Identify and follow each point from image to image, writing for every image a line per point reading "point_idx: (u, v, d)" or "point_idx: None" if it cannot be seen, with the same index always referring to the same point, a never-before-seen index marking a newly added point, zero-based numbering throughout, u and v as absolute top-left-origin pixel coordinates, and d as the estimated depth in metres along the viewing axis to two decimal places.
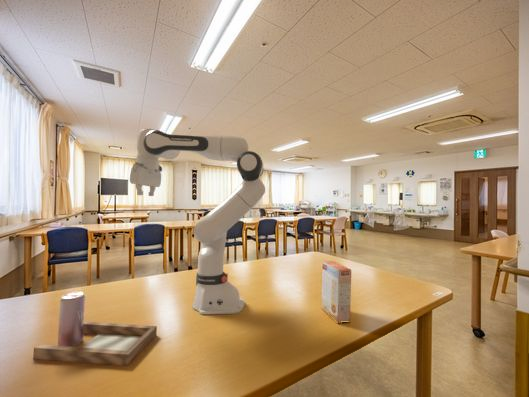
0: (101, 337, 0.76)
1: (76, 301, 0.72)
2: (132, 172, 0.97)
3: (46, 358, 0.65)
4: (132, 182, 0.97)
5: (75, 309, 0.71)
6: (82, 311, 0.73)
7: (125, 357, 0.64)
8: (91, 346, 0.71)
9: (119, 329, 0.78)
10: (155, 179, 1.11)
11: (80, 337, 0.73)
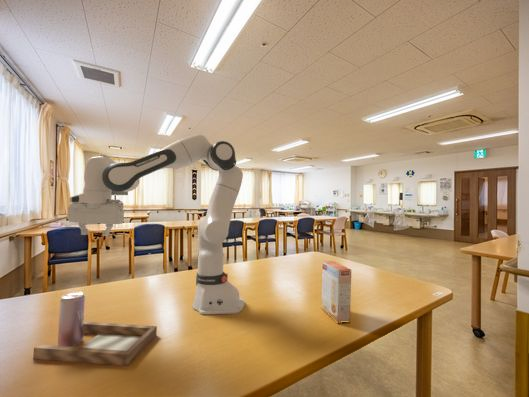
0: (101, 337, 0.76)
1: (76, 301, 0.72)
2: (119, 212, 0.88)
3: (46, 358, 0.65)
4: (119, 223, 0.88)
5: (75, 309, 0.71)
6: (82, 311, 0.73)
7: (125, 357, 0.64)
8: (91, 346, 0.71)
9: (119, 329, 0.78)
10: None
11: (80, 337, 0.73)
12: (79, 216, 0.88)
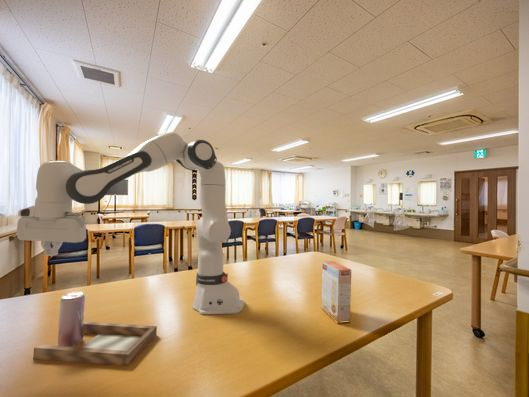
0: (101, 337, 0.76)
1: (76, 301, 0.72)
2: (79, 227, 0.73)
3: (46, 358, 0.65)
4: (79, 240, 0.73)
5: (75, 309, 0.71)
6: (82, 311, 0.73)
7: (125, 357, 0.64)
8: (91, 346, 0.71)
9: (119, 329, 0.78)
10: None
11: (80, 337, 0.73)
12: (30, 232, 0.73)
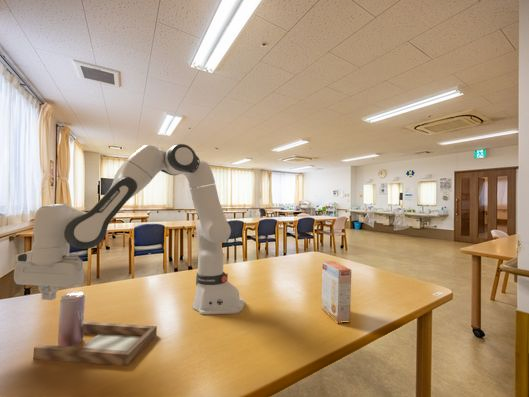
0: (101, 337, 0.76)
1: (76, 301, 0.72)
2: (77, 271, 0.73)
3: (46, 358, 0.65)
4: (77, 285, 0.73)
5: (75, 309, 0.71)
6: (82, 311, 0.73)
7: (125, 357, 0.64)
8: (91, 346, 0.71)
9: (119, 329, 0.78)
10: None
11: (80, 337, 0.73)
12: (28, 277, 0.72)
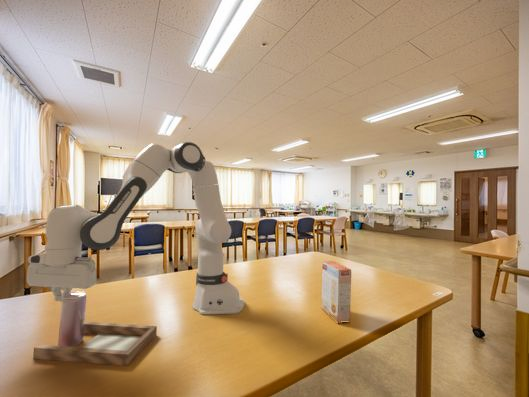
0: (101, 337, 0.76)
1: (78, 301, 0.71)
2: (90, 273, 0.72)
3: (46, 358, 0.65)
4: (89, 286, 0.72)
5: (76, 309, 0.71)
6: (83, 311, 0.73)
7: (125, 357, 0.64)
8: (91, 346, 0.71)
9: (119, 329, 0.78)
10: None
11: (80, 337, 0.73)
12: (40, 278, 0.72)
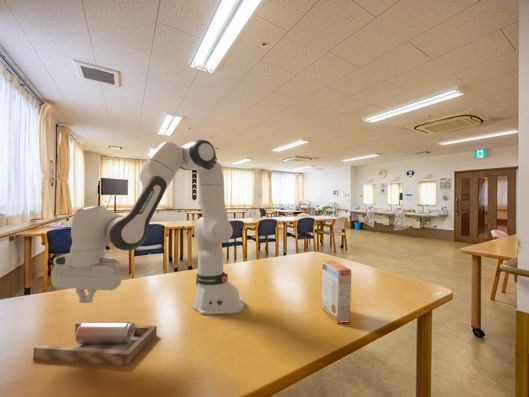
0: None
1: (123, 343, 0.72)
2: (115, 274, 0.72)
3: (46, 358, 0.65)
4: (115, 288, 0.72)
5: (115, 343, 0.72)
6: None
7: (125, 357, 0.64)
8: (91, 346, 0.71)
9: None
10: None
11: None
12: (65, 280, 0.72)
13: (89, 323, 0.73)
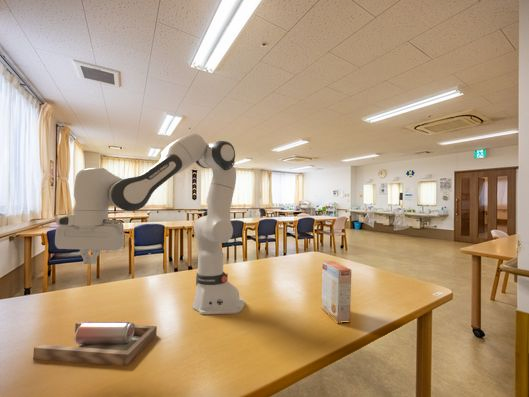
0: None
1: (123, 343, 0.72)
2: (119, 235, 0.72)
3: (46, 358, 0.65)
4: (118, 248, 0.72)
5: (114, 343, 0.72)
6: None
7: (125, 357, 0.64)
8: (91, 346, 0.71)
9: None
10: None
11: None
12: (69, 241, 0.72)
13: (89, 323, 0.73)
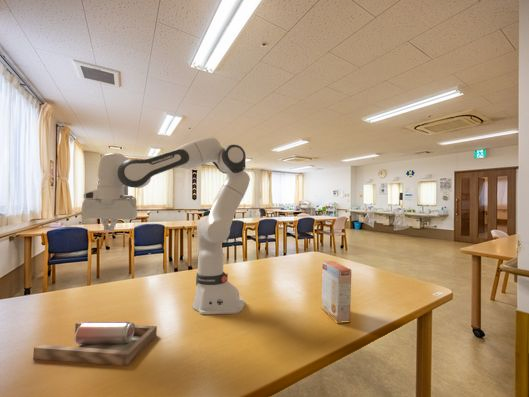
0: None
1: (123, 343, 0.72)
2: (133, 207, 0.90)
3: (46, 358, 0.65)
4: (132, 218, 0.90)
5: (114, 343, 0.72)
6: None
7: (125, 357, 0.64)
8: (91, 346, 0.71)
9: None
10: None
11: None
12: (93, 212, 0.89)
13: (89, 323, 0.73)
